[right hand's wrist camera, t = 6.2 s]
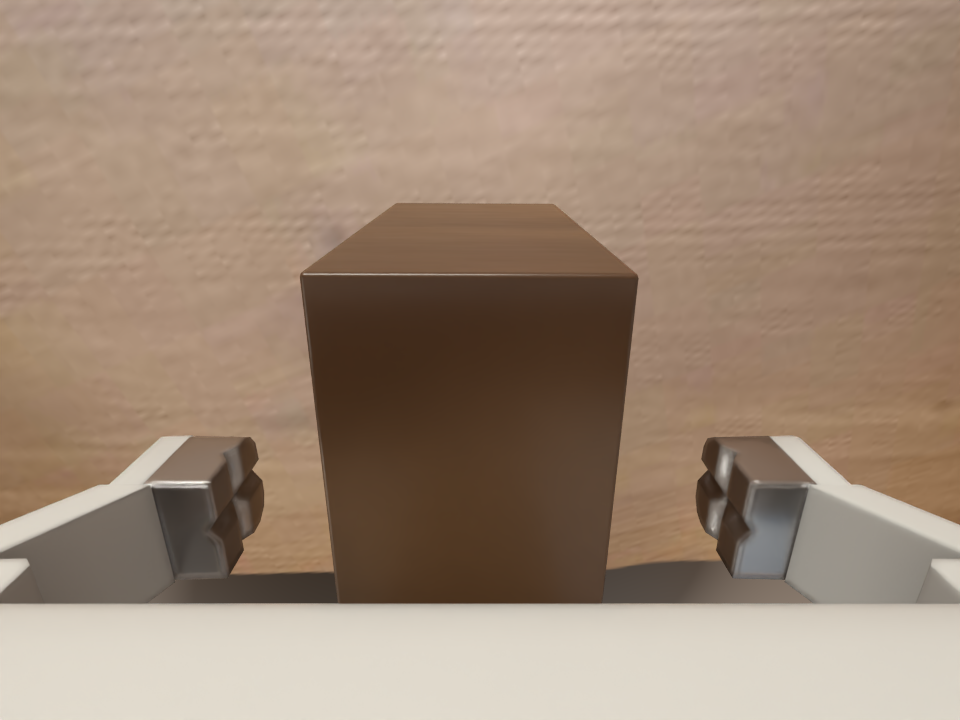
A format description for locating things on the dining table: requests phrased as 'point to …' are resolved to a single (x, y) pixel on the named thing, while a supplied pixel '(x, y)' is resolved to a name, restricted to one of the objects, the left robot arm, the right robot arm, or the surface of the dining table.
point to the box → (469, 404)
